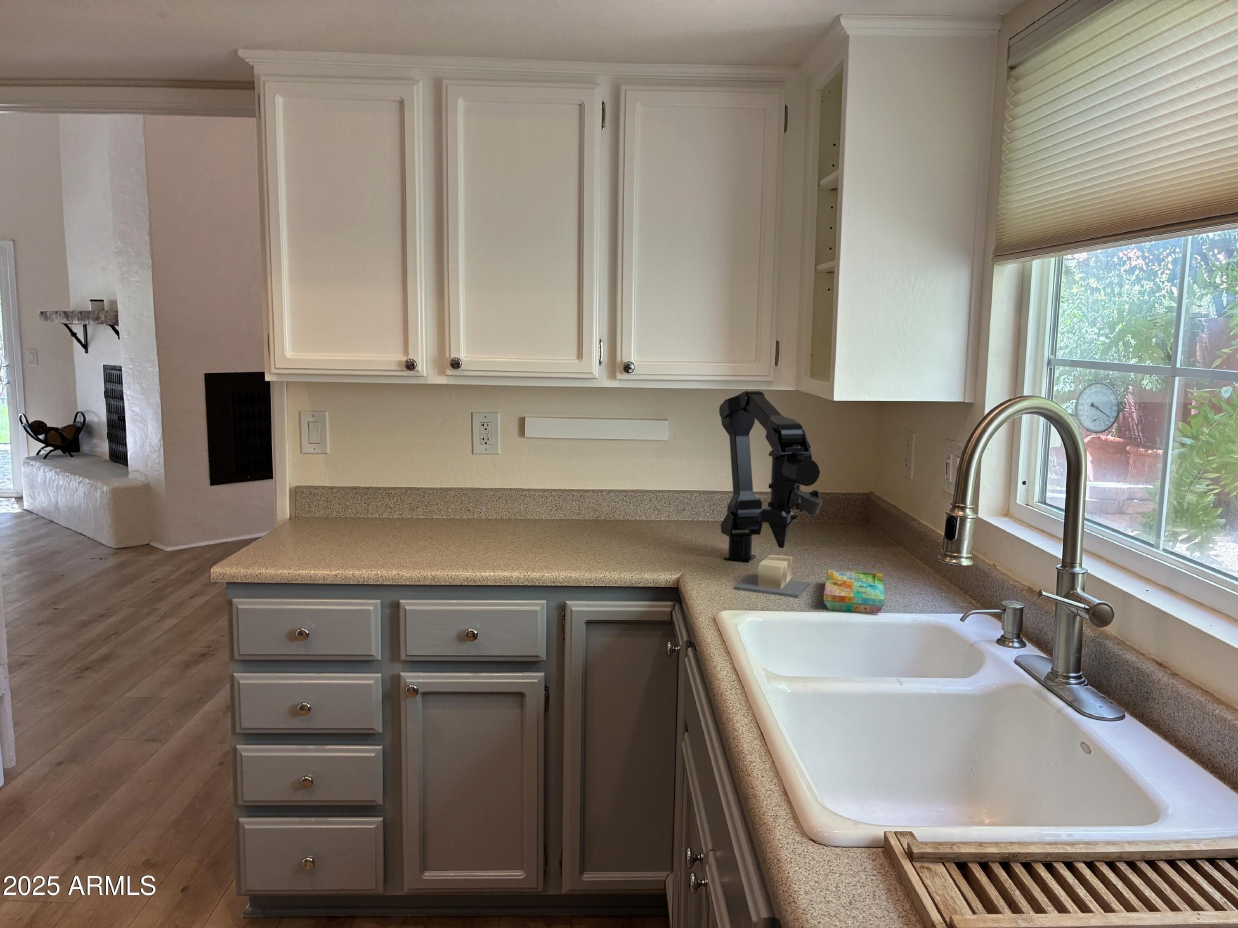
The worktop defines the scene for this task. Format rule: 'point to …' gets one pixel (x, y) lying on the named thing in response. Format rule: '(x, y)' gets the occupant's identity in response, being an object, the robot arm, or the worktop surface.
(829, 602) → the puzzle game
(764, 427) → the robot arm
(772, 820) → the worktop surface
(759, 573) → the maple block
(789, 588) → the rubber mat
